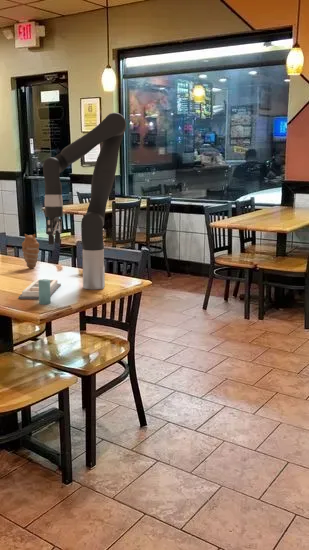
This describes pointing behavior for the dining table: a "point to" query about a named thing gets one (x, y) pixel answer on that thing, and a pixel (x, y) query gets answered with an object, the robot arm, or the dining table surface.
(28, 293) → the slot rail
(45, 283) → the teal peg
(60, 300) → the dining table surface
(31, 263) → the cat ice cream
